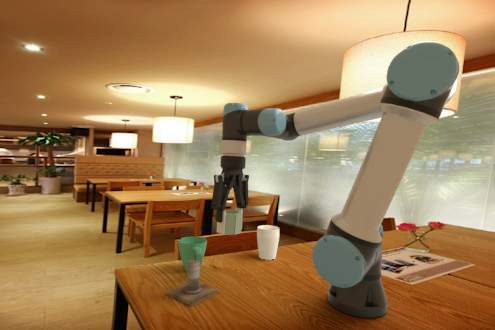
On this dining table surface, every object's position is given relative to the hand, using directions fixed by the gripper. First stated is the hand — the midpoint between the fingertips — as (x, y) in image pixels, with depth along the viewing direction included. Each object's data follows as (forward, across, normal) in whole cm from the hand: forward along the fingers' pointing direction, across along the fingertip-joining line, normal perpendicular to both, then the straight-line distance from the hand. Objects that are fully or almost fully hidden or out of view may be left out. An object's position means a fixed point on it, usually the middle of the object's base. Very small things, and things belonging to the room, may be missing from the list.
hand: (229, 230), depth 89 cm
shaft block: (+17, +11, -3) cm, 20 cm away
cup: (+17, -30, -6) cm, 35 cm away
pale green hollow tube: (0, 0, 0) cm, 0 cm away
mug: (+17, 0, -15) cm, 23 cm away
